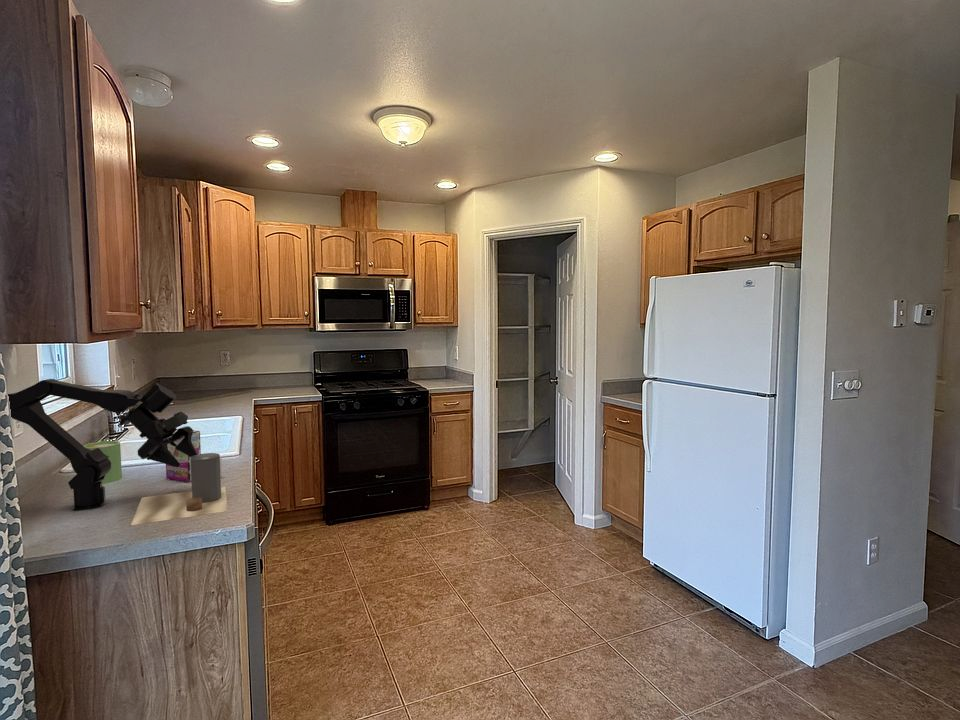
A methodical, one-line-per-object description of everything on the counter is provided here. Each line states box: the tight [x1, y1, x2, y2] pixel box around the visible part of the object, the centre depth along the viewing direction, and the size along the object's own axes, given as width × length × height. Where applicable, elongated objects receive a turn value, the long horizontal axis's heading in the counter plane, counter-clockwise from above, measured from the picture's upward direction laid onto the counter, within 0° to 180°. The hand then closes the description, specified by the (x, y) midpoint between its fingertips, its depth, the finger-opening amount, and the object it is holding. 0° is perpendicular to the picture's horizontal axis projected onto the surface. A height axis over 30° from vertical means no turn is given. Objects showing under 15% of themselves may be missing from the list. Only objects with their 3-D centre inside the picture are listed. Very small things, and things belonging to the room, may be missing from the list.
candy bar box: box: [165, 428, 202, 483], centre depth 175 cm, size 11×5×16 cm, turn 68°
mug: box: [83, 440, 123, 485], centre depth 174 cm, size 13×10×12 cm
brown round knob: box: [186, 498, 202, 511], centre depth 145 cm, size 4×4×2 cm
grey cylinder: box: [191, 452, 222, 503], centre depth 153 cm, size 7×7×12 cm
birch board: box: [130, 486, 228, 526], centre depth 149 cm, size 22×24×1 cm
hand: (188, 461), depth 153 cm, fingers open, 9 cm apart
